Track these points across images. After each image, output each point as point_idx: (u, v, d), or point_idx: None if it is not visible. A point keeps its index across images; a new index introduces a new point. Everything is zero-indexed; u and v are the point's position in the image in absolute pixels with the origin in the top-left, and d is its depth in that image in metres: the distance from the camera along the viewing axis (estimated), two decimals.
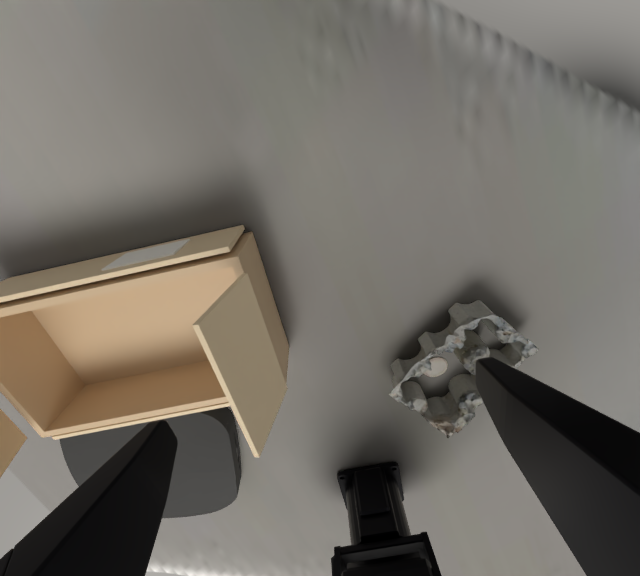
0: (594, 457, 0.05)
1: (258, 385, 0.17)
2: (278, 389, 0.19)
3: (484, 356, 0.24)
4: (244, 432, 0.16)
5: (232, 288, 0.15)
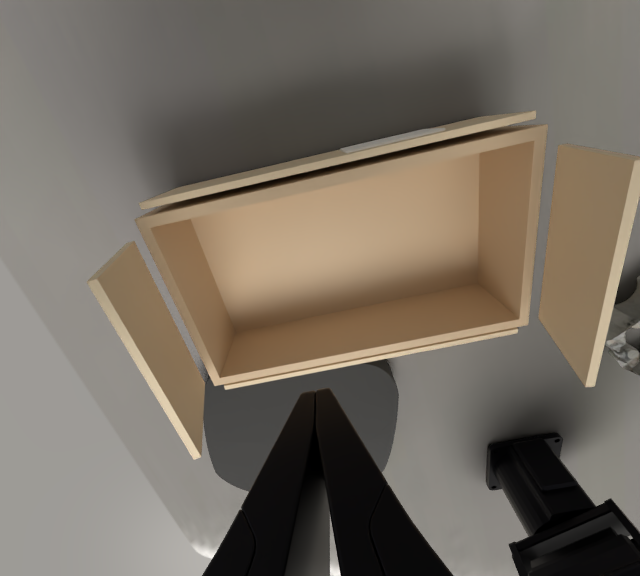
0: (331, 502, 0.05)
1: None
2: None
3: None
4: (596, 348, 0.11)
5: None
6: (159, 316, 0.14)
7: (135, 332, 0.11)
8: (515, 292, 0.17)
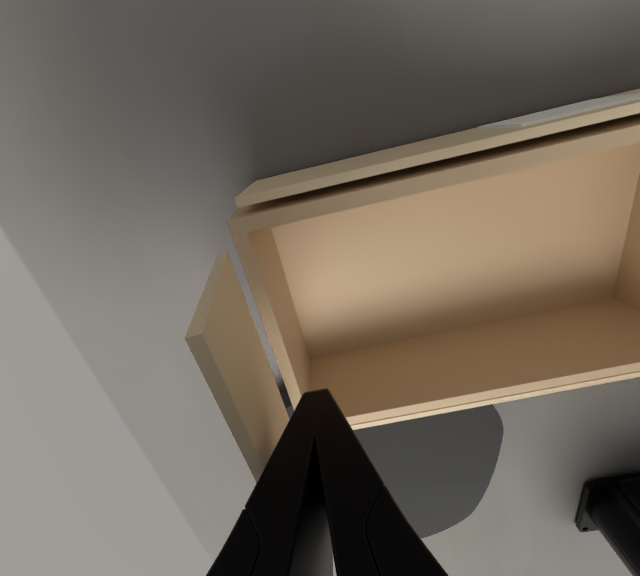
0: (328, 502, 0.05)
1: None
2: None
3: None
4: None
5: None
6: (257, 360, 0.10)
7: (244, 406, 0.07)
8: None
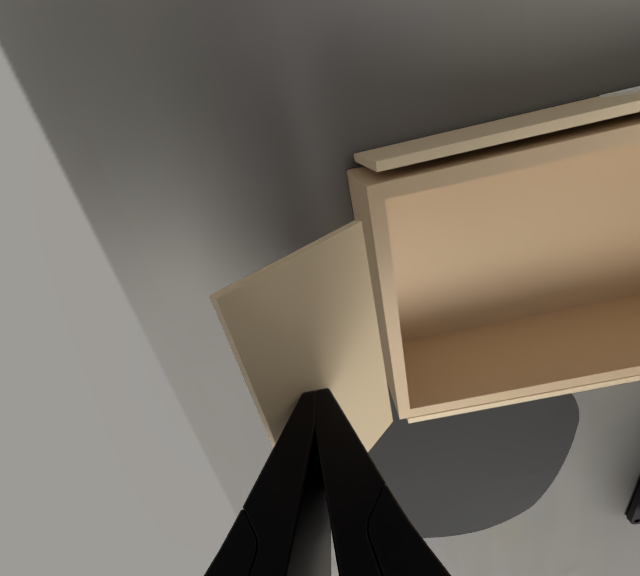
0: (329, 502, 0.05)
1: None
2: None
3: None
4: None
5: None
6: (345, 337, 0.10)
7: (266, 369, 0.08)
8: None
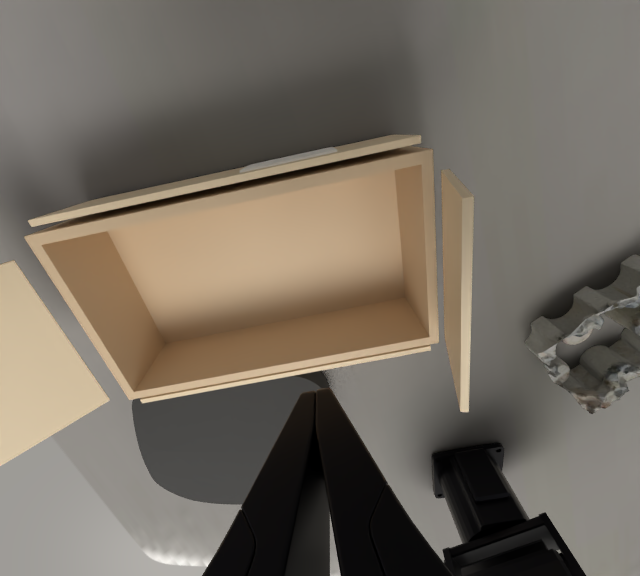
0: (331, 502, 0.05)
1: None
2: None
3: None
4: (463, 375, 0.11)
5: None
6: (13, 338, 0.14)
7: None
8: (425, 310, 0.17)
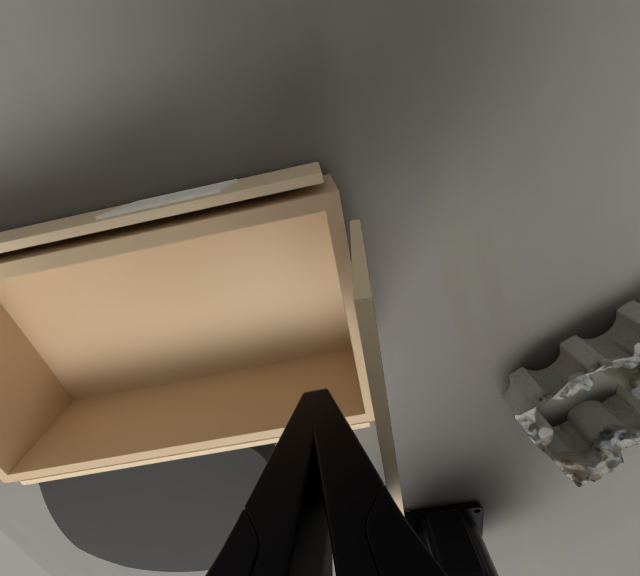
0: (327, 502, 0.05)
1: None
2: None
3: None
4: None
5: (362, 237, 0.08)
6: None
7: None
8: None
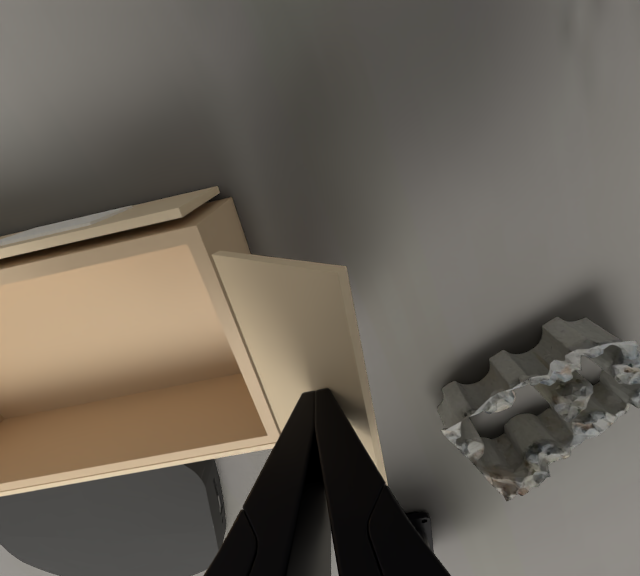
0: (329, 502, 0.05)
1: None
2: None
3: (587, 397, 0.17)
4: (380, 471, 0.09)
5: (254, 255, 0.08)
6: None
7: None
8: None
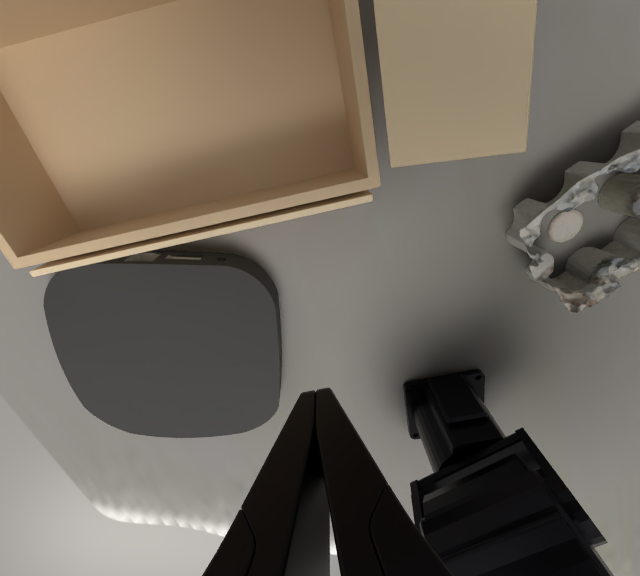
0: (331, 502, 0.05)
1: None
2: None
3: None
4: (530, 82, 0.09)
5: None
6: None
7: None
8: (361, 143, 0.14)
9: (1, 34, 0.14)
